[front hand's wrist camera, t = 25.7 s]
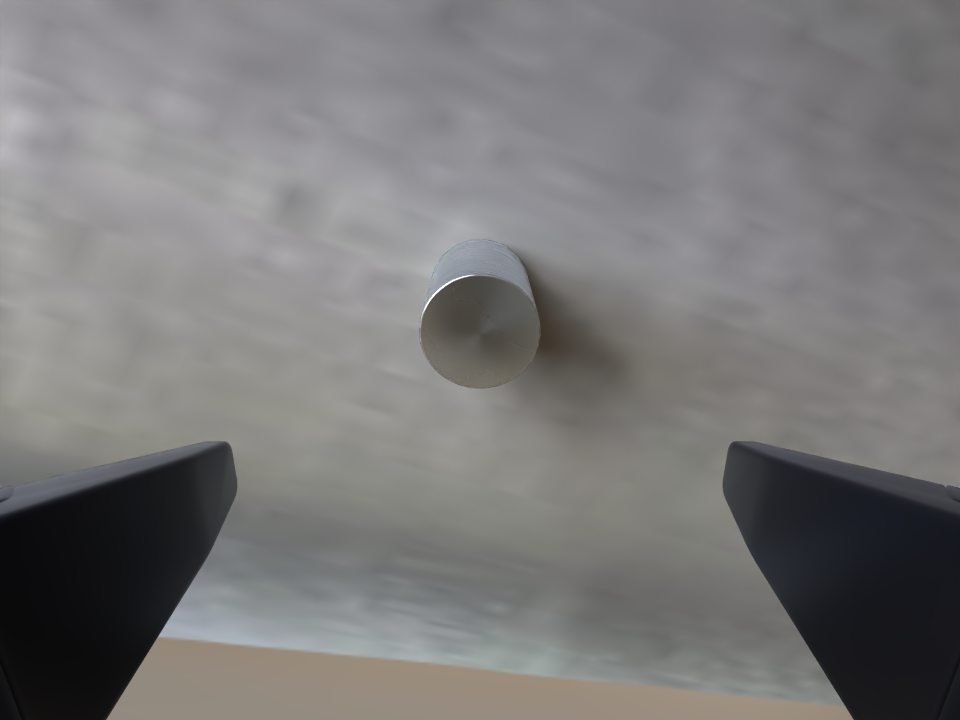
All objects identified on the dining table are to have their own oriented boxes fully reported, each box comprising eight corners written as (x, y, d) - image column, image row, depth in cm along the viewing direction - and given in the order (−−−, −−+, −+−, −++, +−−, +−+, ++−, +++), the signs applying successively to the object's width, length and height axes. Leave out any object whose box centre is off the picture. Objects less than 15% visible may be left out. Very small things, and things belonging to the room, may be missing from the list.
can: (543, 310, 23) (559, 360, 18) (457, 348, 23) (451, 406, 19) (504, 222, 22) (510, 253, 17) (414, 264, 22) (397, 305, 18)
